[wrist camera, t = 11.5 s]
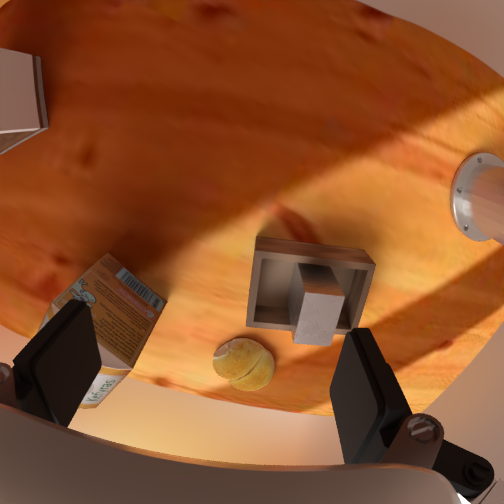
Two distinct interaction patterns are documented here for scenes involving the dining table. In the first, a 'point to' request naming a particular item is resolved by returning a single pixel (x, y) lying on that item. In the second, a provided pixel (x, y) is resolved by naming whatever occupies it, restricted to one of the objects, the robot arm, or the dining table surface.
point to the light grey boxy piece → (20, 98)
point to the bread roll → (244, 364)
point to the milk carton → (113, 320)
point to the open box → (280, 275)
